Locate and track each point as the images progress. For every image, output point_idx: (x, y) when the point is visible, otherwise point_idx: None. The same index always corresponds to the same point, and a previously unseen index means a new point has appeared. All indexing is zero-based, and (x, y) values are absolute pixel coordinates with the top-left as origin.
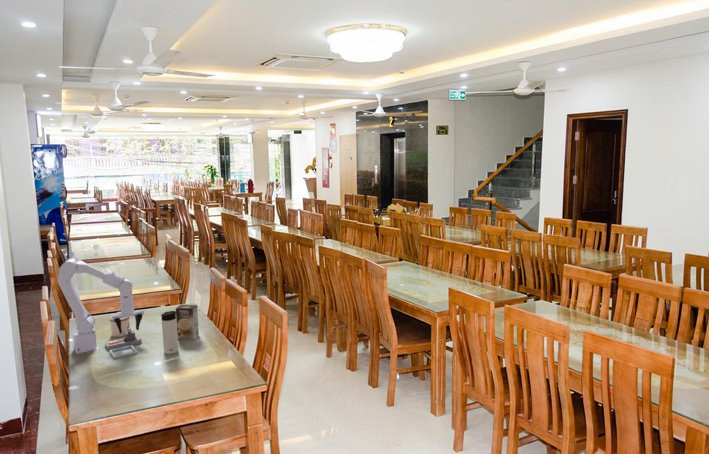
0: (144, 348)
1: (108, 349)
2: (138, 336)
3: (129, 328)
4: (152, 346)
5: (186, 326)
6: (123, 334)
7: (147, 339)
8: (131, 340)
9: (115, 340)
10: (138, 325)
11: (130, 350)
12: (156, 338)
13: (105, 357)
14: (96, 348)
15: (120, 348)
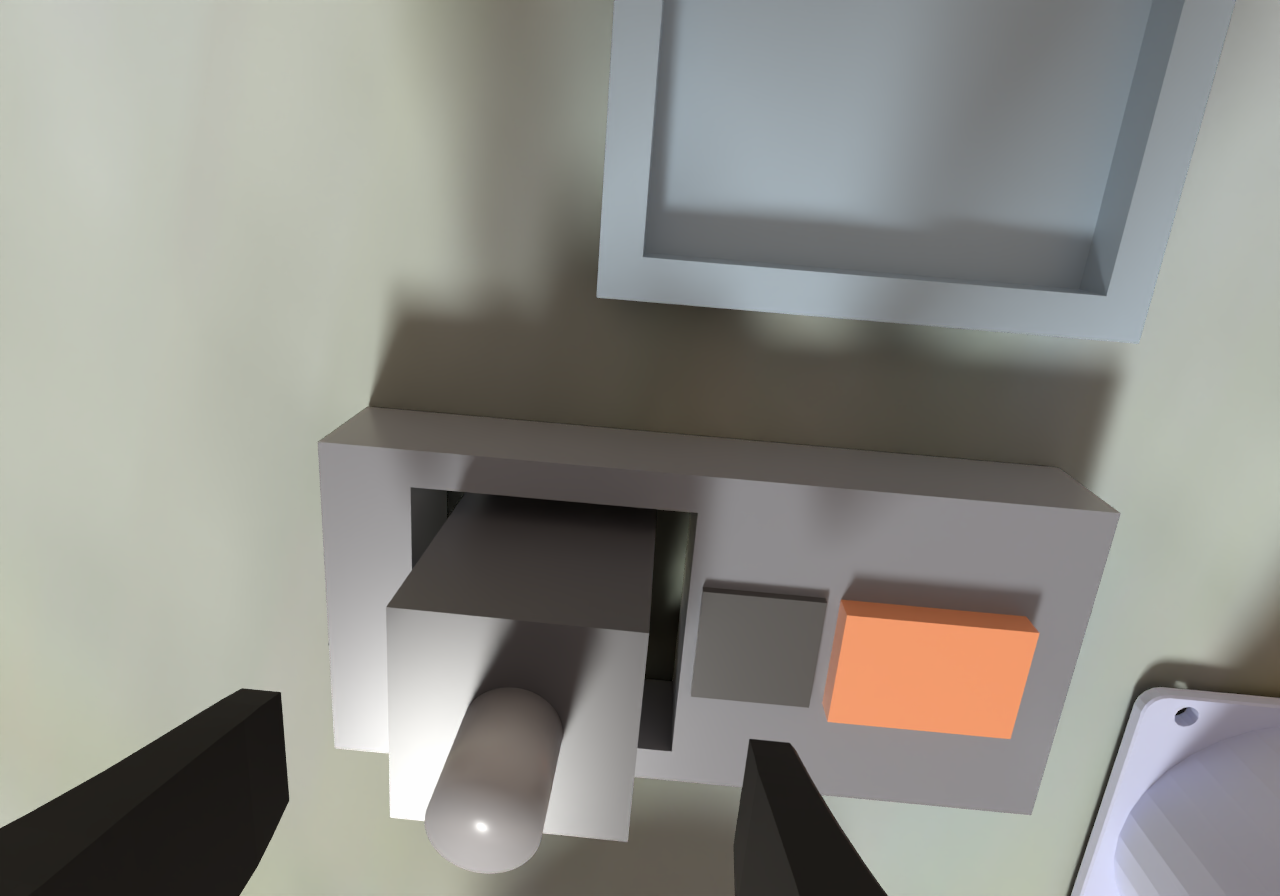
0: (380, 76)
1: (1074, 483)
2: (342, 664)
3: (472, 833)
4: (190, 74)
5: None
6: None
7: (216, 589)
8: (542, 525)
9: (859, 712)
10: (126, 776)
11: (707, 88)
12: (44, 520)
13: (1276, 142)
14: (1178, 738)
15: (893, 277)
